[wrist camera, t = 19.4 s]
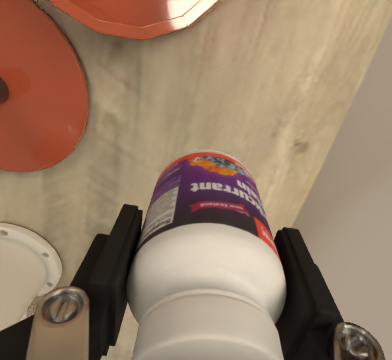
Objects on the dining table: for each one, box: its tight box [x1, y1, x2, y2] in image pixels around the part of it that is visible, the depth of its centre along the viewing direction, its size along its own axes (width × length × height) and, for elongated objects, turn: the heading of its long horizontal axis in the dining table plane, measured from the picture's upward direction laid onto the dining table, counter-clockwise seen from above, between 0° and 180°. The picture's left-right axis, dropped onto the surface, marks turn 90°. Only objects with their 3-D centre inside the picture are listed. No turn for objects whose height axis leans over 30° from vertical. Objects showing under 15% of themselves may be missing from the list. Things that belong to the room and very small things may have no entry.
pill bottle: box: [127, 149, 287, 360], centre depth 11 cm, size 5×5×10 cm
